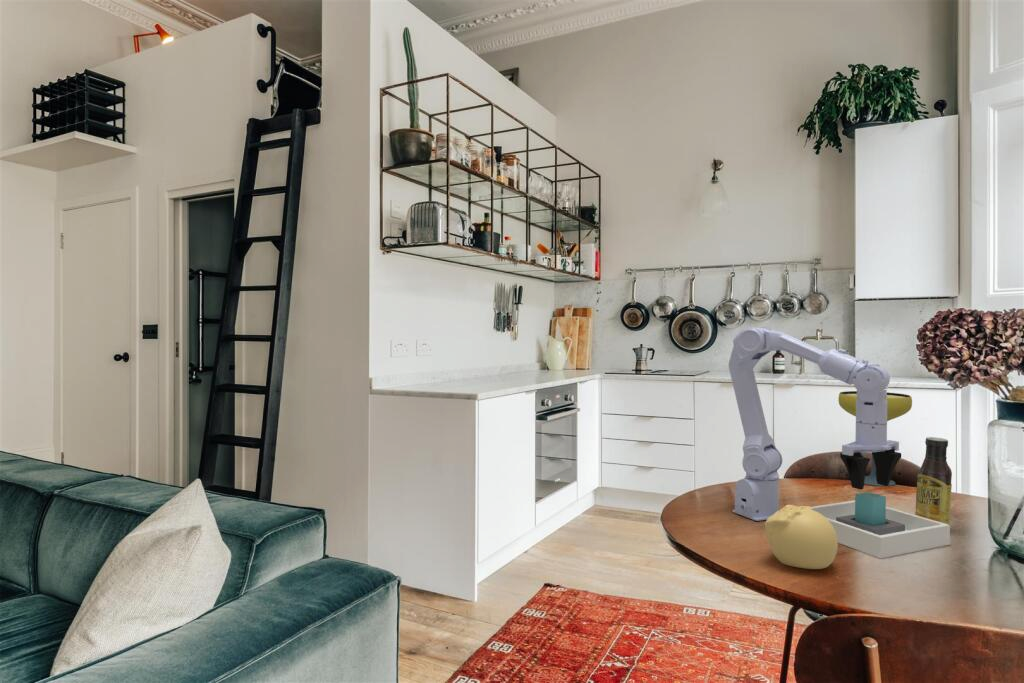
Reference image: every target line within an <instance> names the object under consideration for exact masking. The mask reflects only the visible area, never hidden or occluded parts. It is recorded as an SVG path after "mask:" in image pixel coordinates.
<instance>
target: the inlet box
mask: <svg viewBox="0 0 1024 683" xmlns="http://www.w3.org/2000/svg"><path fill="white" fill-rule="evenodd" d="M810 507H811V509H812V510H814V511H816V512H818V513H820V514H822V515H823V516H824V517H826V518H827V519H828V520H829V521H830V523H831V524H832V525H833V527H834V529H835V531H836V534H837V539H838V544H841V545H843V546H845V547H849V548H852V549H854V550H856V551H860V552H863V553H865V554H868V555H871V556H873V557H876V558H878V559H886V558H889V557H896V556H901V555H906V554H911V553H915V552H920V551H926V550H930V549H934V548H939V547H946V546H950V544H951V524H949V525H948V524H945V523H941V522H938V521H934V520H931V519H927V518H924V517H920V516H917V515H915V514H913V513H911V512H905V511H902V510H899V509H896V508H891V507H889V506H886V524H883V525H878V526H870V525H867V524H864V523H861V522H858V521H855V499H854V500H849V501H848V500H847V501H840V502H835V503H834V502H833V503H828V504H823V505H822V504H821V505H815V506H810Z"/></svg>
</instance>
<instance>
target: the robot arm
mask: <svg viewBox="0 0 1024 683" xmlns="http://www.w3.org/2000/svg"><path fill="white" fill-rule="evenodd" d="M732 342H733V346H732V350H731V354H730V357H729V360H728V369H729V370H728V371H729V374H730V377H731V382H732V387H733V390H734V394H735V398H736V399H735V400H736V404H737V408H738V412H739V417H740V420H741V425H742V430H743V434H744V437H745V438H744V442H743V445H742V451H743V458H742V461H741V462H742V463H741V464H742V468H743V470H744V472H745V476H744V478H741V479H739V480H737V481H736V483H735V487H734V509H732V513H734V514H737V515H740V516H742V517H745V518H748V519H751V520H753V521H756V522H759V521H761V522H762V521H766V520H767V519H768V518H769V517H770V516H772V515H774V514H775V512H777V511H779V510H780V508H779V507H780V505H779V504H780V489H779V488H780V475H779V473H778V470H779V469H780V468H781V467H782V465H783V457H782V456H783V455H782V453H781V452H780V451H779V449H778V447H777V446H776V443H775V439H773V438H772V436H771V435H770V434H769V430H768V426H767V422H766V417H765V413H764V410H763V405H762V401H761V398H760V393H759V389H758V383H757V381H756V376H755V371H754V369H755V367H756V365H757V364H758V363H759V362H760V360H761V359H762V358H763V357H765V356H767V354H769V353H771V352H774V351H777V352H778V351H784V352H786V353H789V354H792V355H793V356H796V357H799V358H801V359H804V360H807V361H809V362H812V363H814V364H817V365H818V368H819V370H820V372H821V373H823V374H825V375H827V376H830V377H832V378H834V379H835V380H838V381H840V382H843V383H845V384H847V385H849V386H851V385H853V387H854V388H855V389H856V391H857V400H856V417H855V440H854V441H852V442H850V443H847V444H842V445H841V452H840V453H839V457H840V460H842V462H843V463H844V466H845V468H846V471H847V474H848V476H849V479H850V485H851V488H853V489H856V490H861V491H862V490H864V488H865V484H864V481H865V476H866V472H867V468H868V465H869V462H870V461H871V458H869V457H864V456H863V454H869V453H871V454H872V455H873V458H874V462H875V470H876V479H877V484H880V485H884V486H883V487H889V486H888V485H889V482H890V480H892V479H891V478H892V475H893V472H894V469H895V467H896V466H897V464H898V462H899V461H900V460H901V459H902V453H901V452H898V451H899V450H900V442H899V441H897V440H888V421H887V391H888V389H887V387H888V386H889V384H890V383H891V382H890V381H891V377H890V374H889V372H888V370H887V369H885V368H884V367H882V366H881V365H879V364H878V363H877V364H873V363H871V364H869V360H868V359H865V358H864V359H859V358H857V357H855V356H852V355H850V354H847V350H845V349H843V348H839V349H838V350H837V349H836V348H831V349H828V350H823V349H820V348H819V347H816V346H814V345H812V344H810V343H807V342H805V341H803V340H801V339H798V338H796V337H794V336H792V335H790V334H787V333H785V332H782V331H779V330H772V329H771V328H769V327H765V326H760V327H753V326H747V327H744V328H743V329H741V330H740V331H739V332H738V334H737V335H736V336H735V337H734V338H733V340H732ZM872 455H871V456H872Z"/></svg>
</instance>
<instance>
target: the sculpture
mask: <svg viewBox="0 0 1024 683" xmlns="http://www.w3.org/2000/svg"><path fill="white" fill-rule="evenodd" d="M811 507H812V506H811V505H806V506H805V505H799V506H797V505H794V504H786V505H784V506H783V507H781V508H779V511H777V512H775V514H774V515H772V516H770V517H769V518H768V519H767V520H765V524H764V526H765V528H764V529H765V537H766V541H767V542H768V544H769V546H770V549H771V551H772V553H773V554H774V556H775V557H776V559H777V560H778V561H779V562H780V563H781V564H783V565H785V566H789V567H795V568H800V569H808V570H823V569H826V568H828V567H829V566H830V565H831V564H832V563H833V562H834V560H835V558H836V555H837V553H838V546H839V543H838V539H837V534H836V531H835V529H834V527H833V525H832V524H831V523H830V521H829V520H828V519H827V518H826V517H824V516H823V515H822V514H820V513H818V512H816V511H814V510H812V509H811Z"/></svg>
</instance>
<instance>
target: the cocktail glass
mask: <svg viewBox="0 0 1024 683" xmlns="http://www.w3.org/2000/svg"><path fill="white" fill-rule="evenodd" d="M837 399H838V400H837V401H838V405H839V407H840V408H841V409H842V410H844V411H845V412H847V413H848V414H850V415H852V416H853V417H855V418H856V400H857V390H855V391H853V390H850V391H841V392H839V394H838V398H837ZM912 407H913V399H912V395H909V394H906V393H900V392H899V393H897V392H889V391H888V392H887V422H889V421H892V420H894V419H896V418H899V417H901V416H904V415H905V414H907V413H908V412H911V410H912ZM871 456H872V457H871V470H870V473H869V475H865V481H864V485H866V486H874V487H885V486H884V485H880V484H877V479H876V467H875V462H874V458H873V455H871ZM895 485H896V482H895V481H894V480H892V479H890V482H889V485H888V486H887V487H892V486H895Z"/></svg>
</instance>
